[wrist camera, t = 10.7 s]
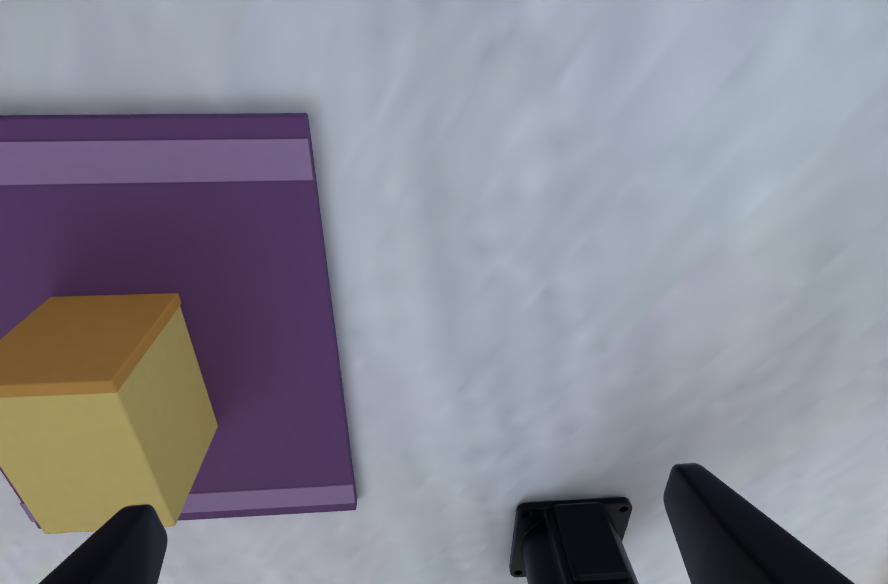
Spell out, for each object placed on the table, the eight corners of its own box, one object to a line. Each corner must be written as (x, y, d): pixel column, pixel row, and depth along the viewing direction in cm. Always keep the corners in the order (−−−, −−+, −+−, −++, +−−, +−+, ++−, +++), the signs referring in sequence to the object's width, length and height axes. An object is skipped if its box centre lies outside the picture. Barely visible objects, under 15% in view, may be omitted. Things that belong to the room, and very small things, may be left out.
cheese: (220, 425, 23) (176, 527, 18) (112, 430, 22) (41, 536, 18) (178, 292, 19) (111, 380, 15) (50, 296, 19) (-58, 387, 14)
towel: (357, 500, 27) (356, 511, 26) (45, 518, 26) (37, 530, 25) (307, 113, 17) (304, 116, 16) (-209, 116, 16) (-233, 121, 15)
